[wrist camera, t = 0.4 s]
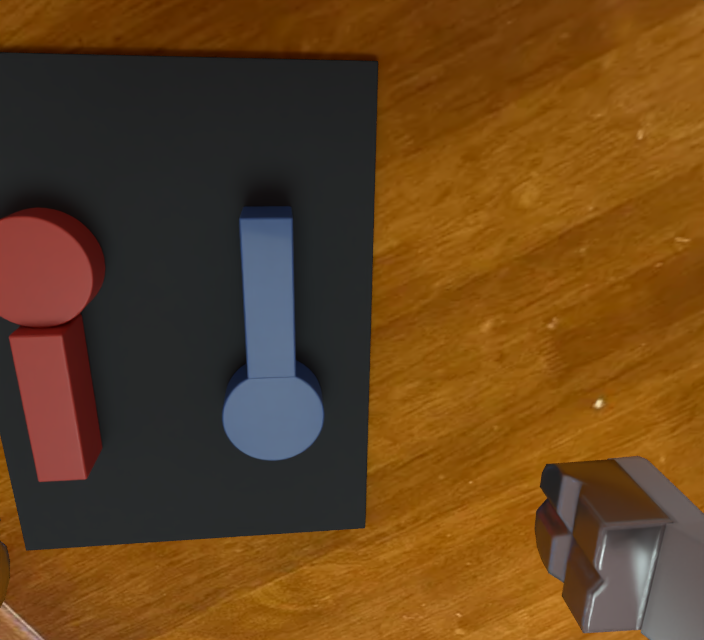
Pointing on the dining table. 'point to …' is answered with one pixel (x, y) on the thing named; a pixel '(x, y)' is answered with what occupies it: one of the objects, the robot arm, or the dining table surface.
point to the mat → (195, 282)
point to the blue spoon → (270, 347)
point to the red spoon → (52, 335)
